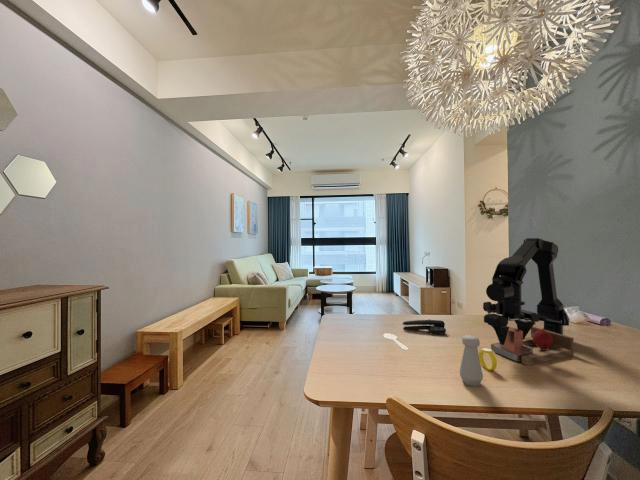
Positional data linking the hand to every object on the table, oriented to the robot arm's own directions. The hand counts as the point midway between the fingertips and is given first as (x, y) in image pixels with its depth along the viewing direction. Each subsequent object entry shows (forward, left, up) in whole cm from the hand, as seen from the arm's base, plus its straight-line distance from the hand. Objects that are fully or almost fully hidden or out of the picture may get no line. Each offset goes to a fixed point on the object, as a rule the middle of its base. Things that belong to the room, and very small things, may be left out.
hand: (511, 342), depth 94 cm
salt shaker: (+28, +9, -5) cm, 29 cm away
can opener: (+11, -31, -5) cm, 33 cm away
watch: (+16, +4, -5) cm, 17 cm away
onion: (-15, 0, -5) cm, 16 cm away
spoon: (+30, -25, -5) cm, 39 cm away
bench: (-9, 0, -4) cm, 11 cm away
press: (-1, 0, -4) cm, 4 cm away
